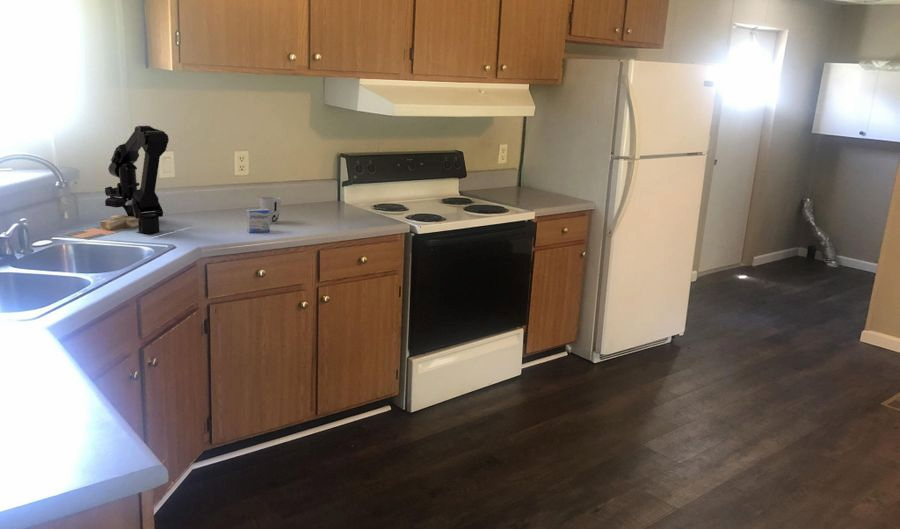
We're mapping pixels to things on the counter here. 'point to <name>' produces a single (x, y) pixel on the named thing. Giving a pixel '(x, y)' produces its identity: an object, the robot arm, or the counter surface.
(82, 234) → the mat
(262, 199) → the cup
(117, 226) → the t block
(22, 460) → the counter surface
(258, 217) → the medicine box
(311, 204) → the counter surface
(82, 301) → the counter surface
